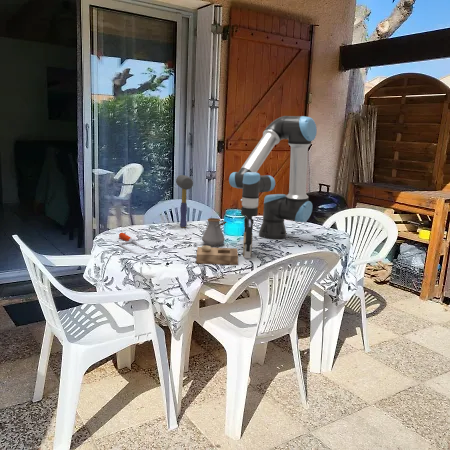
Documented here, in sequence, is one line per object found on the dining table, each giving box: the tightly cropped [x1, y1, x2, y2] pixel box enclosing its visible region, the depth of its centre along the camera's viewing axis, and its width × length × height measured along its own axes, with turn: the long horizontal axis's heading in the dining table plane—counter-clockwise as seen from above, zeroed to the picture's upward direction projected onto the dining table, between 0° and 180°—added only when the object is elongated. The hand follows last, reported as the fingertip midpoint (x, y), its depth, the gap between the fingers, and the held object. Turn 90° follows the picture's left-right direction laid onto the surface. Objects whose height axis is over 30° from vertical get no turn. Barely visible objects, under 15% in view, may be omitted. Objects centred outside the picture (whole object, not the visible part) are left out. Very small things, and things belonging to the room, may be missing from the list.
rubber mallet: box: [175, 174, 194, 229], centre depth 261 cm, size 12×8×30 cm, turn 21°
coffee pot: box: [201, 217, 227, 247], centre depth 226 cm, size 21×12×15 cm, turn 22°
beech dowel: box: [242, 231, 253, 258], centre depth 213 cm, size 4×4×11 cm
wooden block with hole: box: [195, 244, 239, 266], centre depth 205 cm, size 18×12×6 cm, turn 91°
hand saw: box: [118, 232, 156, 255], centre depth 222 cm, size 33×3×10 cm
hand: (246, 255), depth 214 cm, fingers open, 6 cm apart
